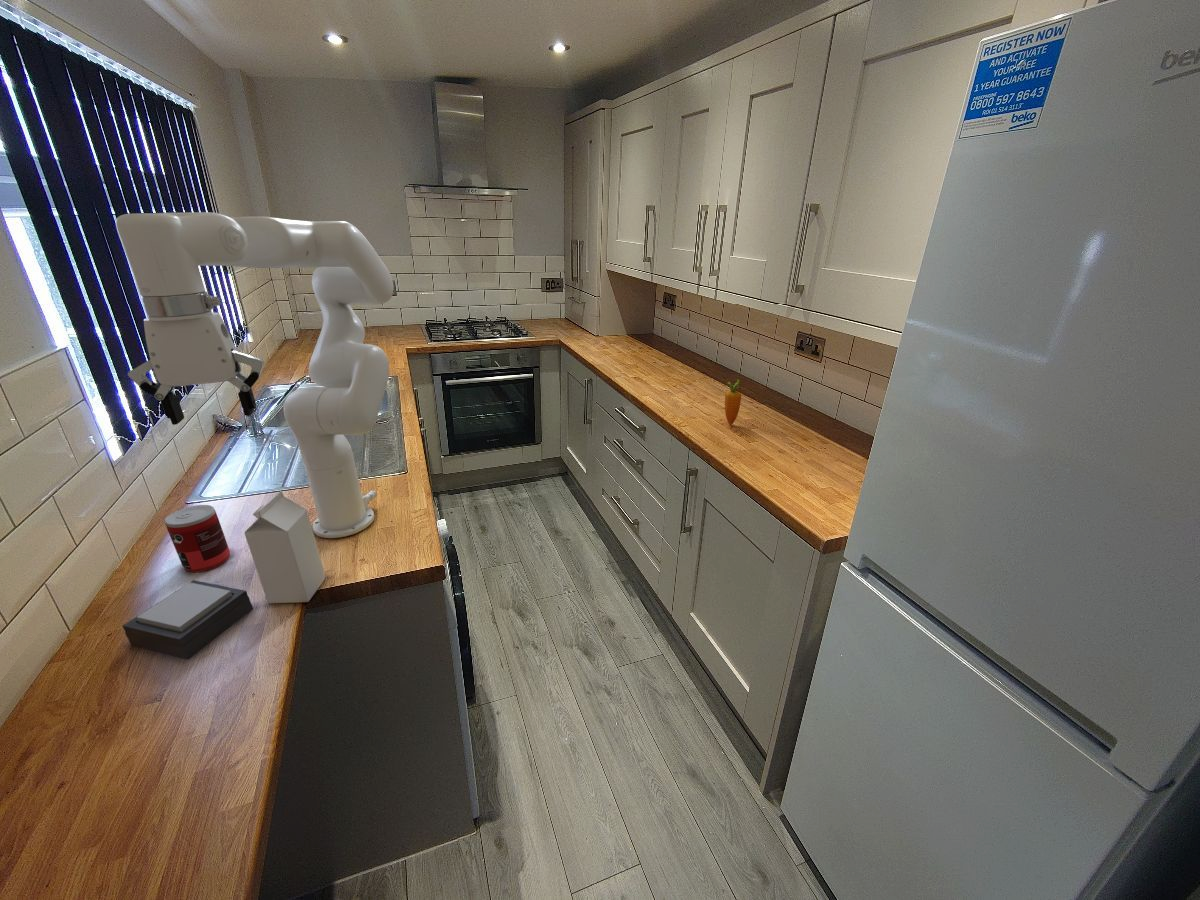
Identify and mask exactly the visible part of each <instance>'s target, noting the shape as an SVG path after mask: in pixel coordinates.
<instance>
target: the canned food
mask: <svg viewBox="0 0 1200 900" xmlns="http://www.w3.org/2000/svg"><path fill="white" fill-rule="evenodd" d="M164 524H165V527H166V530H167V532H168V535H169V537H170V539H171V542H172V545H173V547H174V549H175V551H176V554H177V557H178V558H179V559H178V560H179V561H180V563H181V566H182V567H183V568H184V569H185V570H186V571H187V572H191V573H201V572H206V571H210V570H212V569H215V568H218V567H219V566H221V565H223V564H224V563H226V562H227V561H228V560H229V558H230V554H231V550H230V548H229V544H228V542H227V538H226V536H225V533H224V531H223V528H222V525H221V522H220V519H219V516H218V514H217V511H216V509H215V507H214V506H212V505H209V504H198V505H192V506H186V507H184V508H181V509H178V510H176V511H173V512H172V513H170V514H169V515H167V516H166V517H165V518H164Z"/></svg>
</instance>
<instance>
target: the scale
mask: <svg viewBox="0 0 1200 900" xmlns="http://www.w3.org/2000/svg"><path fill="white" fill-rule="evenodd" d="M189 583H195V584H200V585H205V586H210V587H214V588H219V589H224V590H229V591H231V593H232V596H231V597H230V598H228V599H227V600H226V601H224V602H223V603H221V604H220V605H219V606H217V607H216V608H215V609H213V610H212V611H210V612H209V613H208V614H206V615H205V616H203V617H202V618H201V619H199V620H198V621H197V622H195V623H194V624H192V625H191V626H190V627H188V628H187V629H185V630H184V631H183V632H181V633H180V632H175V631H171V630H167V629H163V628H159V627H154V626H150V625H146V624H142V623H139V621H138V619H137V617H138V616H139V615H141V614H142V613H144V612H145V611H147V610H148V609H150V608H151V607H153V606H155V605H156V604H158V603H159V602H161V601H162V600H164V599H165V598H167V597H169V596H170V595H172V594H173V593H175V592H176V591H178V590H179V589H181V588H183V587H184V586H186V585H187V584H189ZM179 589H177V590H176V591H174V592H172V593H171V594H169V595H168V596H166V597H165V598H163V599H162V600H160V601H158V602H157V603H155V604H154V605H152V606H151V607H149V608H148V609H146V610H144V611H143V612H141V613H140V614H138V615H136V616H135V617H134V618H132V619H130V620H129V621H127V622H126V623H124V624H122V628H123V631H125V632H124V634H125V636H126V639H127V640H128V641H129V644H130V645H131V646H132V647H138V648H140V649H141V648H142V649H145V650H149V651H153V652H157V653H161V654H165V655H170V656H172V657H178V658H181V659H185V660H190V658H192V657H193V656H194V655H196V654H197V653H198V652H199V651H201V650H202V649H203V648H205V647H206V646H207V645H208V644H210V643H211V642H212V641H213V640H215V639H216V638H218V636H220V635H221V634H222V633H224V632H225V631H227V630H228V629H229V628H231V626H233V625H234V624H235V623H237V622H238V621H239V620H240V619H242V618H243V617H245V616H246V615H248V614H249V613H250V612H251V611H252V610H253V608H254V607H253V605H252V603H251V599H250V597H249V595H248V592H247V590H245V589H240V588H239V589H238V588H235V587H230V586H226V585H220V584H215V583H210V582H204V581H200V580H195V579H192V580H191V581H190V582H188V583H186V584H185V585H183V586H181V587H180V588H179Z"/></svg>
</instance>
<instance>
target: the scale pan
mask: <svg viewBox="0 0 1200 900" xmlns="http://www.w3.org/2000/svg"><path fill="white" fill-rule="evenodd" d="M188 583H189V584H188ZM188 583H186V584H187V585H186V584H185V585H186V586H185V585H183V586H184V587H183V586H182V587H183V588H182V587H180V588H181V589H180V588H179V589H177V590H178V591H177V590H175V591H174V592H175V593H174V592H172V593H173V594H172V593H171V594H172V595H171V594H169V595H170V596H169V595H168V596H169V597H168V596H166V597H167V598H166V597H165V598H163V599H164V600H163V599H162V600H160V601H161V602H160V601H158V602H159V603H158V602H157V603H158V604H157V603H155V604H156V605H155V604H154V605H155V606H154V605H152V606H153V607H152V606H151V607H149V608H150V609H149V608H147V609H146V610H147V611H146V610H144V611H145V612H144V611H143V612H144V613H143V612H141V613H142V614H141V613H140V614H141V615H140V614H138V615H139V616H138V615H137V616H138V617H137V616H136V617H137V619H138V621H139V623H142V624H146V625H150V626H154V627H159V628H163V629H167V630H171V631H175V632H180V633H181V632H183V631H184V630H185V629H187V628H188V627H190V626H191V625H192V624H194V623H195V622H197V621H198V620H199V619H201V618H202V617H203V616H205V615H206V614H208V613H209V612H210V611H212V610H213V609H215V608H216V607H217V606H219V605H220V604H221V603H223V602H224V601H226V600H227V599H228V598H230V597H231V596H232V593H231V591H229V590H224V589H219V588H214V587H210V586H205V585H200V584H195V583H190V582H188Z"/></svg>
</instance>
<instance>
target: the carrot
mask: <svg viewBox="0 0 1200 900" xmlns="http://www.w3.org/2000/svg"><path fill="white" fill-rule="evenodd" d="M739 384H740V379H737V380H736V382H735V384H734V385H732V383H731V382H730V381H728V382H727V385H728V388H729V390H728V391H727V392H726V393H725V395H724V413H725V418H726V420H727V423H728V425H729V426H732V425H734V422H735V421H736V419H737V417H738V415H739V413H740V408H741V402H742V393H741V392H739V391H738V390H737V389H738V387H739Z"/></svg>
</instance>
